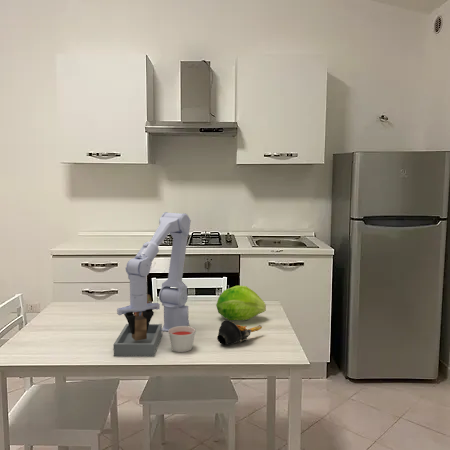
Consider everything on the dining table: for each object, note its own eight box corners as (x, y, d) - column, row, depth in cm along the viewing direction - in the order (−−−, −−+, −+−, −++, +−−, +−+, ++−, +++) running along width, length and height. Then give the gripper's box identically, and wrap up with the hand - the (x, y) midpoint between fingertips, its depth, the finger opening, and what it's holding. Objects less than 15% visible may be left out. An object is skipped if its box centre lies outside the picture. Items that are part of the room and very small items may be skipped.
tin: (139, 323, 186) (139, 302, 185) (132, 322, 187) (131, 301, 186) (152, 311, 201) (152, 292, 200) (145, 311, 201) (145, 292, 200)
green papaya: (265, 326, 182) (266, 292, 181) (213, 325, 184) (214, 290, 182) (265, 314, 198) (266, 282, 196) (217, 313, 199) (218, 281, 198)
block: (142, 335, 165) (142, 315, 164) (146, 338, 162) (146, 318, 161) (131, 337, 163) (131, 317, 162) (135, 340, 160) (135, 320, 159)
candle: (191, 342, 166) (191, 324, 165) (198, 351, 157) (198, 333, 156) (166, 345, 163) (166, 327, 162) (171, 355, 154) (171, 336, 154)
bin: (161, 334, 173) (161, 324, 172) (153, 356, 153) (153, 344, 152) (126, 334, 173) (126, 323, 172) (113, 356, 153) (113, 344, 152)
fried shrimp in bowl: (207, 330, 164) (237, 304, 176) (222, 357, 165) (252, 329, 177) (223, 327, 157) (254, 300, 169) (239, 355, 158) (269, 326, 170)
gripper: (154, 288, 168) (154, 325, 169) (114, 293, 161) (114, 332, 162) (161, 292, 162) (162, 331, 163) (120, 298, 154) (121, 338, 156)
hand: (139, 332), depth 162 cm, fingers closed on block, 4 cm apart
